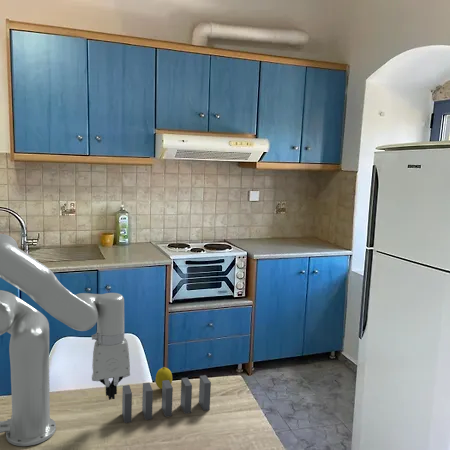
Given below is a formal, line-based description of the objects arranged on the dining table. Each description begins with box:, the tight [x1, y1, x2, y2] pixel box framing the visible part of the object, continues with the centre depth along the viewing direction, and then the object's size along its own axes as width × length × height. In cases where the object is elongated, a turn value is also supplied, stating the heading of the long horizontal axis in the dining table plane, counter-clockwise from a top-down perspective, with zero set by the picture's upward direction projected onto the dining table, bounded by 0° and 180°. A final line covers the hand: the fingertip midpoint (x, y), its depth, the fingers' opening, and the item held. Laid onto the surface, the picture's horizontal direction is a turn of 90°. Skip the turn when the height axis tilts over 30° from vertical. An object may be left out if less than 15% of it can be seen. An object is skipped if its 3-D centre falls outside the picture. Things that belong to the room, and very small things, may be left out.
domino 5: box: [198, 374, 212, 412], centre depth 142 cm, size 2×5×9 cm, turn 21°
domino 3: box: [161, 380, 174, 418], centre depth 138 cm, size 2×5×9 cm, turn 20°
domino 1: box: [121, 384, 133, 424], centre depth 134 cm, size 2×5×9 cm, turn 20°
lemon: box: [155, 366, 173, 390], centre depth 151 cm, size 6×6×8 cm
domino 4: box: [180, 377, 193, 415], centre depth 140 cm, size 2×5×9 cm, turn 20°
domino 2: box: [141, 382, 154, 421], centre depth 136 cm, size 2×5×9 cm, turn 20°
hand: (111, 396), depth 132 cm, fingers closed
